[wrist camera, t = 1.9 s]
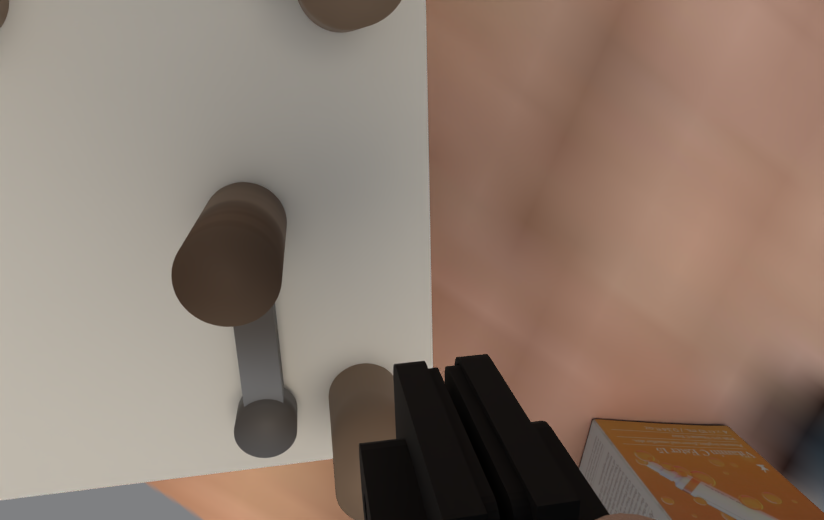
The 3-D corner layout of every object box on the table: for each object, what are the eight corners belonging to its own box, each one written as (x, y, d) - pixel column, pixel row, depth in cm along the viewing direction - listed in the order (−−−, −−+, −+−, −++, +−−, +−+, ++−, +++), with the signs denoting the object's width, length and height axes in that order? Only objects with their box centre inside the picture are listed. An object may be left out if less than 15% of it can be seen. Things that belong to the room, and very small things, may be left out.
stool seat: (-129, -100, 21) (-398, -191, 13) (411, -98, 23) (467, -172, 15) (25, 462, 28) (-86, 628, 20) (424, 415, 30) (467, 545, 23)
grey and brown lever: (307, 430, 26) (308, 533, 21) (233, 438, 26) (215, 546, 20) (282, 179, 23) (276, 222, 17) (197, 184, 23) (163, 230, 17)
